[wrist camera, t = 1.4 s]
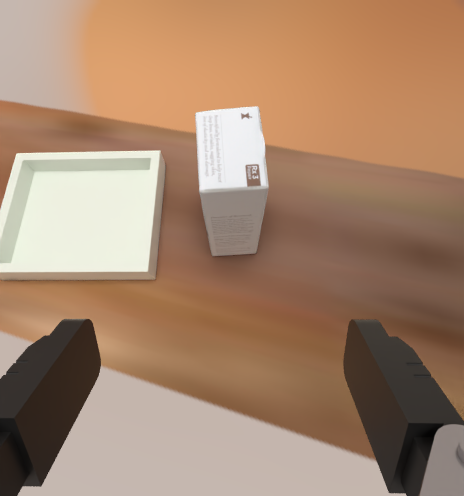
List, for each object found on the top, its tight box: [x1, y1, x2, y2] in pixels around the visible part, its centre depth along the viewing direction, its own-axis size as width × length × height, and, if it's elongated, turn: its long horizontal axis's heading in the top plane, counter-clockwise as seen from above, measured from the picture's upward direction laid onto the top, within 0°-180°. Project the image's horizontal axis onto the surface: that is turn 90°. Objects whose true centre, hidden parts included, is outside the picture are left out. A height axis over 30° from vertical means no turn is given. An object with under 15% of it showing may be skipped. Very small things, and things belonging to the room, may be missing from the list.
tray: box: [0, 151, 166, 280], centre depth 31 cm, size 14×12×2 cm
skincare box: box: [195, 107, 268, 256], centre depth 25 cm, size 6×4×12 cm
